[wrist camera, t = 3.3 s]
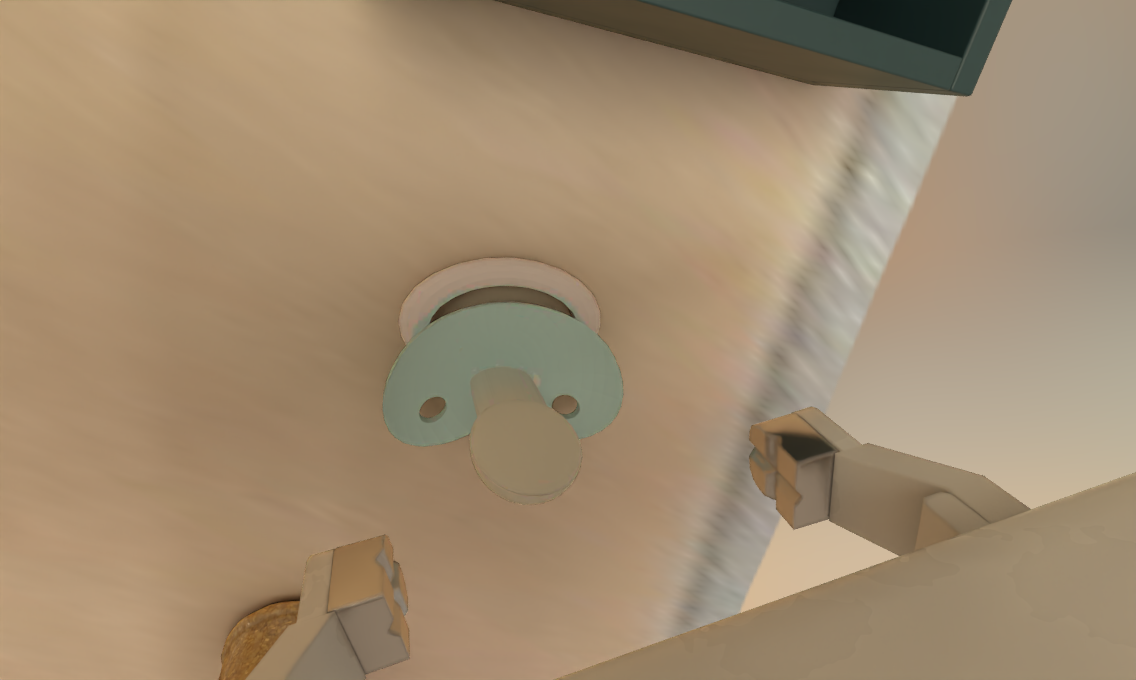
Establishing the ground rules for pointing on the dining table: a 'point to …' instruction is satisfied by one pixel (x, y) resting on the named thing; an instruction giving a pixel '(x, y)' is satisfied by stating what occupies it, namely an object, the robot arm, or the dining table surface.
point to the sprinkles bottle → (255, 638)
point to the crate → (814, 36)
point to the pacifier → (505, 375)
